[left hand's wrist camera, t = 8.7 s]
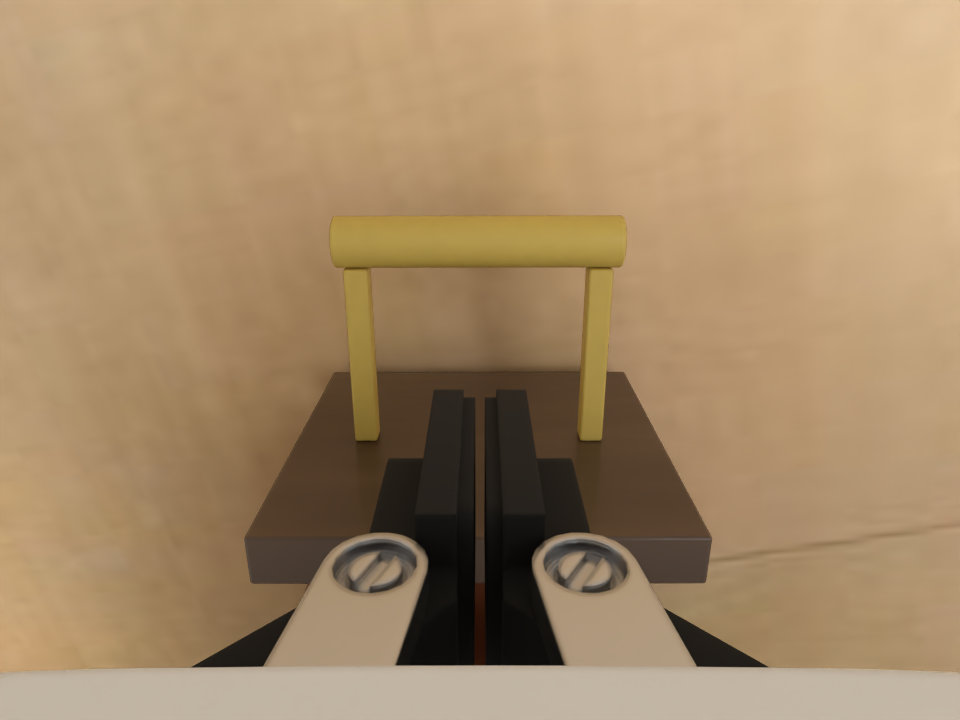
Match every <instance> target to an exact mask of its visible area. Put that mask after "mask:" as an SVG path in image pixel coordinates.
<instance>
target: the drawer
mask: <svg viewBox="0 0 960 720" xmlns="http://www.w3.org/2000/svg"><path fill="white" fill-rule="evenodd" d="M329 244H330V254H331V259H332V262H333V264H334V266H335V267H337V268H345V269H344V271H343V279H344V292H345V306H346V319H347V333H348V346H349V360H350V372H336V373H334V374H333V376H332V378H331V380H330V382H329V383H328V385H327V387H326V389H325V391H324V393H323V394H322V396H321V398H320V400H319V402H318V404H317V405H316V407H315V409H314V411H313V413H312V415H311V416H310V418H309V420H308V422H307V424H306V426H305V428H304V429H303V431H302V433H301V435H300V437H299V439H298V440H297V442H296V444H295V446H294V448H293V450H292V451H291V453H290V455H289V457H288V459H287V461H286V462H285V464H284V466H283V468H282V470H281V472H280V473H279V475H278V477H277V479H276V481H275V483H274V485H273V486H272V488H271V490H270V492H269V494H268V496H267V497H266V499H265V501H264V503H263V505H262V507H261V508H260V510H259V512H258V514H257V516H256V518H255V519H254V521H253V523H252V525H251V527H250V529H249V530H248V532H247V534H246V536H245V538H244V540H245V547H246V554H247V561H248V567H249V574H250V581H251V583H253V584H308V585H307V587H306V590H307V588H308V587H309V585H310V583H311V581H312V580H313V578H314V576H315V574H316V573H317V571H318V569H319V567H320V566H321V564H322V562H323V560H324V559H325V558H326V556H327V555H328V554H329V553H330V552H331V550H332V549H334V548H335V547H337V546H338V545H340V544H341V543H342V542H344V541H346V540H349V539H351V538H354V537H356V536H360V535H365V534H369V533H370V529H371V525H372V521H373V517H374V513H375V509H376V505H377V501H378V497H379V493H380V489H381V485H382V481H383V477H384V473H385V469H386V465H387V462H388V459H389V458H423V457H424V450H425V444H426V438H427V431H428V425H429V418H430V412H431V405H432V399H433V392H434V389H463V390H464V397H475V476H476V550H475V652H474V666H486V653H485V551H484V476H485V397H496V390H497V389H526V392H527V399H528V405H529V412H530V418H531V425H532V431H533V438H534V444H535V450H536V457H537V458H571V459H572V462H573V465H574V469H575V473H576V477H577V481H578V485H579V489H580V493H581V497H582V501H583V505H584V509H585V513H586V517H587V521H588V525H589V529H590V533H591V534H595V535H600V536H604V537H606V538H609V539H611V540H614V541H616V542H618V543H619V544H620V545H622V546H623V547H625V548H626V549H628V550H629V552H630V553H631V554H632V555H633V556H634V558H635V559H636V560H637V562H638V564H639V566H640V567H641V569H642V571H643V573H644V574H645V576H646V578H647V580H648V581H649V583H705V582H706V577H707V570H708V563H709V556H710V549H711V542H712V537H711V535H710V533H709V531H708V529H707V528H706V526H705V524H704V522H703V520H702V518H701V516H700V514H699V513H698V511H697V509H696V507H695V505H694V503H693V501H692V499H691V497H690V496H689V494H688V492H687V490H686V488H685V486H684V484H683V482H682V481H681V479H680V477H679V475H678V473H677V471H676V469H675V467H674V466H673V464H672V462H671V460H670V458H669V456H668V454H667V452H666V451H665V449H664V447H663V445H662V443H661V441H660V439H659V437H658V436H657V434H656V432H655V430H654V428H653V426H652V424H651V422H650V420H649V419H648V417H647V415H646V413H645V411H644V409H643V407H642V405H641V404H640V402H639V400H638V398H637V396H636V394H635V392H634V390H633V389H632V387H631V385H630V383H629V381H628V379H627V377H626V375H625V374H624V372H607V357H608V343H609V328H610V314H611V299H612V285H613V269H612V268H611V267H621V266H622V265H623V262H624V259H625V254H626V245H627V230H626V223H625V220H624V217H623V216H334V217H333V218H332V220H331V224H330V232H329ZM461 267H586V278H585V296H584V315H583V333H582V352H581V370H580V372H377V371H376V354H375V337H374V321H373V304H372V287H371V270H370V268H461ZM306 590H305V592H306ZM304 594H305V593H304Z"/></svg>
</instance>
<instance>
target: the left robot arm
mask: <svg viewBox="0 0 960 720" xmlns="http://www.w3.org/2000/svg"><path fill="white" fill-rule="evenodd" d="M475 550H476V476H475V397H464V390H463V389H434V392H433V399H432V405H431V412H430V418H429V425H428V431H427V438H426V444H425V450H424V457H423V458H389V459H388V462H387V465H386V469H385V473H384V477H383V481H382V485H381V489H380V493H379V497H378V501H377V505H376V509H375V513H374V517H373V521H372V525H371V529H370V533H369V534H365V535H360V536H356V537H354V538H351V539H349V540H346V541H344V542H342V543H341V544H340V545H338V546H337V547H335V548H334V549H332V550H331V552H330V553H329V554H328V555H327V556H326V558H325V559H324V560H323V562H322V564H321V566H320V567H319V569H318V571H317V573H316V574H315V576H314V578H313V580H312V581H311V583H310V585H309V587H308V588H307V590H306V592H305V594H304V595H303V597H302V599H301V601H300V602H299V604H298V606H297V608H295V609H294V610H292V611H290V612H288V613H287V614H285V615H283V616H281V617H279V618H278V619H276V620H274V621H272V622H271V623H269V624H267V625H265V626H264V627H262V628H260V629H258V630H256V631H255V632H253V633H251V634H249V635H248V636H246V637H244V638H242V639H240V640H239V641H237V642H235V643H233V644H232V645H230V646H228V647H226V648H225V649H223V650H221V651H219V652H217V653H216V654H214V655H212V656H210V657H209V658H207V659H205V660H203V661H201V662H200V663H198V664H196V665H194V666H193V667H191V668H96V669H69V670H42V671H14V672H0V720H960V672H946V671H918V670H891V669H864V668H769V667H767V666H766V665H764V664H762V663H760V662H759V661H757V660H755V659H753V658H751V657H750V656H748V655H746V654H744V653H743V652H741V651H739V650H737V649H735V648H734V647H732V646H730V645H728V644H727V643H725V642H723V641H721V640H720V639H718V638H716V637H714V636H712V635H711V634H709V633H707V632H705V631H704V630H702V629H700V628H698V627H696V626H695V625H693V624H691V623H689V622H688V621H686V620H684V619H682V618H681V617H679V616H677V615H675V614H673V613H672V612H670V611H668V610H666V609H665V608H663V606H662V604H661V602H660V601H659V599H658V597H657V595H656V594H655V592H654V590H653V588H652V587H651V585H650V583H649V581H648V580H647V578H646V576H645V574H644V573H643V571H642V569H641V567H640V566H639V564H638V562H637V560H636V559H635V558H634V556H633V555H632V554H631V553H630V552H629V550H628V549H626V548H625V547H623V546H622V545H620V544H619V543H618V542H616V541H614V540H611V539H609V538H606V537H604V536H600V535H595V534H591V533H590V529H589V525H588V521H587V517H586V513H585V509H584V505H583V501H582V497H581V493H580V489H579V485H578V481H577V477H576V473H575V469H574V465H573V462H572V459H571V458H537V457H536V450H535V444H534V438H533V431H532V425H531V418H530V412H529V405H528V399H527V392H526V389H497V390H496V397H485V476H484V551H485V653H486V666H474V652H475Z"/></svg>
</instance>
